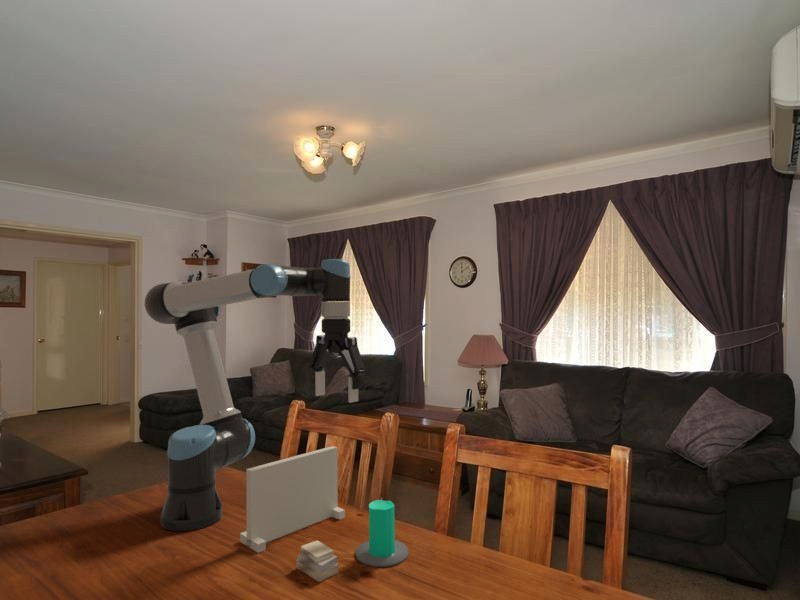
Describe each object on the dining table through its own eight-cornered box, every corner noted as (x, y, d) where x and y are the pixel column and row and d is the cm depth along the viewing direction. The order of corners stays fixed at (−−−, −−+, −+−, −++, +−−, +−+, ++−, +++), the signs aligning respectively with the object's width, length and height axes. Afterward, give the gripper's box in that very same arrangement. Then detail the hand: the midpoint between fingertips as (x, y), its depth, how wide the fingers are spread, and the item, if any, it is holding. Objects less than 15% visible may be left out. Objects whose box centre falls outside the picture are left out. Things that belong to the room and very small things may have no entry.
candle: (391, 558, 113) (391, 504, 113) (365, 555, 114) (365, 502, 114) (397, 545, 118) (397, 494, 118) (372, 543, 120) (372, 492, 120)
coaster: (344, 554, 116) (344, 551, 116) (382, 536, 125) (382, 533, 125) (381, 573, 108) (381, 570, 108) (419, 552, 116) (419, 550, 116)
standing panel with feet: (240, 541, 122) (239, 466, 122) (325, 509, 141) (325, 443, 141) (258, 552, 117) (257, 473, 117) (344, 517, 136) (344, 449, 136)
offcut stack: (294, 568, 110) (294, 547, 110) (315, 559, 114) (315, 539, 114) (318, 583, 104) (318, 561, 104) (339, 572, 108) (339, 551, 108)
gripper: (379, 318, 129) (379, 402, 129) (318, 316, 146) (318, 390, 146) (357, 319, 124) (357, 407, 124) (296, 317, 141) (296, 394, 141)
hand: (336, 398), depth 135 cm, fingers open, 13 cm apart
